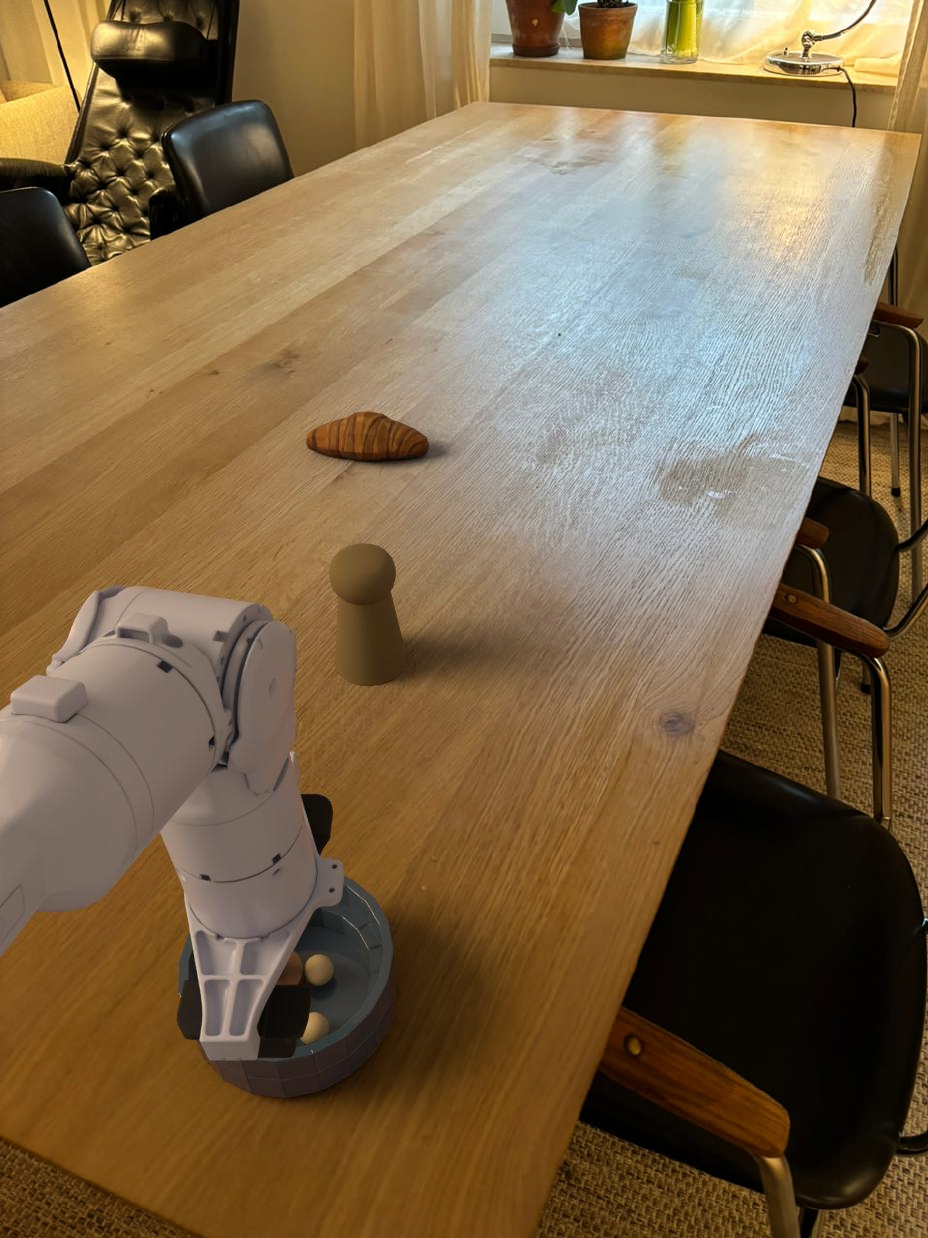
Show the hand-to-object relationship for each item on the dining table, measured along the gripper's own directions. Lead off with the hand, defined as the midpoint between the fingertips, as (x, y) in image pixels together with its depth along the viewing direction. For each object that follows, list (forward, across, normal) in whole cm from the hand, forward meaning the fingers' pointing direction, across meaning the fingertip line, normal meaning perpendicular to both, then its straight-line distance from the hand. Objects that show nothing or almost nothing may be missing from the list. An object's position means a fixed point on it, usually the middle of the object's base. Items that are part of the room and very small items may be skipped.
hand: (283, 975), depth 51 cm
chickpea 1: (+9, +5, 0) cm, 10 cm away
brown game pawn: (+12, +34, -1) cm, 36 cm away
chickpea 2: (+8, +1, 0) cm, 9 cm away
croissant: (+14, +66, +2) cm, 68 cm away
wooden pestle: (+10, +4, +2) cm, 11 cm away
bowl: (+10, +3, +1) cm, 11 cm away
